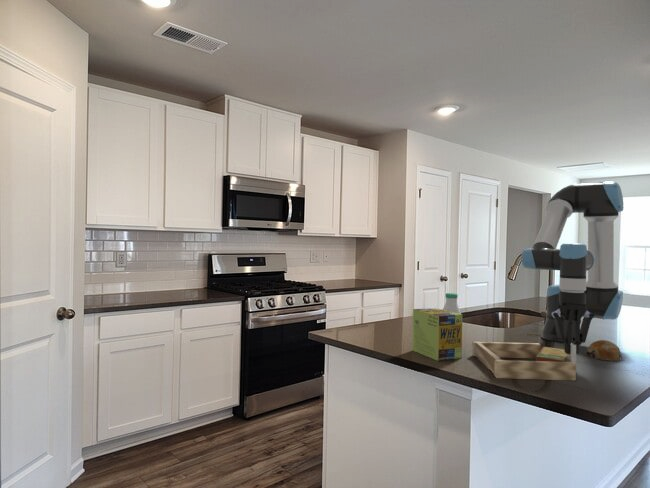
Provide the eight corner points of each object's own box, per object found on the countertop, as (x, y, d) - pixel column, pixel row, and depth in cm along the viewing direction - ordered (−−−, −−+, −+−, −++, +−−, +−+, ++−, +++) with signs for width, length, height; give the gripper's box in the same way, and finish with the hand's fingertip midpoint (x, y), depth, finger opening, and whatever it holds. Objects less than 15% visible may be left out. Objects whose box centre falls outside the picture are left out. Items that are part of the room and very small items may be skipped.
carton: (569, 362, 147) (569, 349, 147) (564, 373, 134) (565, 360, 134) (542, 357, 152) (542, 345, 152) (535, 368, 139) (535, 355, 138)
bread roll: (615, 372, 147) (627, 353, 145) (583, 355, 152) (595, 336, 150) (613, 365, 155) (625, 347, 153) (584, 349, 160) (595, 331, 158)
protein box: (438, 361, 145) (439, 315, 145) (411, 350, 159) (412, 308, 159) (462, 358, 149) (463, 314, 149) (434, 348, 163) (435, 307, 163)
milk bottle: (462, 346, 166) (462, 295, 166) (441, 345, 167) (442, 294, 167) (459, 341, 173) (460, 292, 173) (440, 340, 175) (440, 292, 175)
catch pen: (538, 357, 151) (538, 343, 151) (575, 380, 126) (575, 363, 126) (472, 355, 153) (472, 341, 153) (496, 378, 128) (496, 361, 128)
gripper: (586, 290, 142) (585, 361, 142) (546, 289, 142) (545, 360, 143) (600, 292, 134) (598, 367, 134) (557, 292, 135) (556, 366, 135)
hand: (571, 363), depth 138 cm, fingers closed
